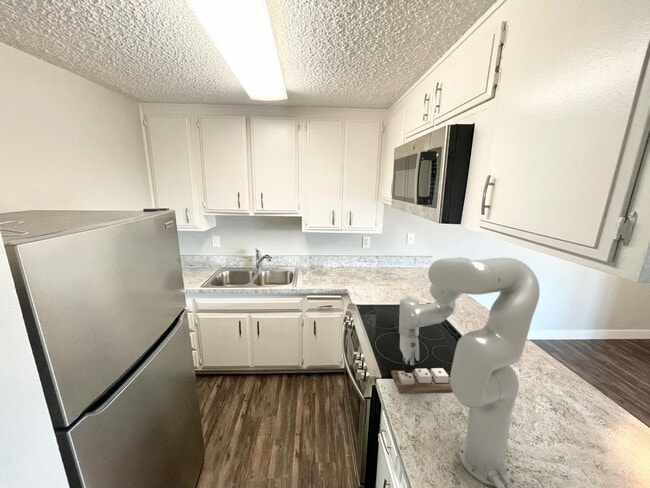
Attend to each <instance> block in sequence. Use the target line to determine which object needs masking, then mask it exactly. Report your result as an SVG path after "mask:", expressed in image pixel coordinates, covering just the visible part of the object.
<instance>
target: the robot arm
mask: <svg viewBox="0 0 650 488" xmlns="http://www.w3.org/2000/svg"><path fill="white" fill-rule="evenodd" d="M427 273H428V274H427V277H428V279H429V282H430V283H431V285H430V286H429V292H430V295H431V297H432V298H433V299H434V300H435V301H433V302H431V303H425V304H420V302H419V301H418V299H415V298H411V297H405V298H404V297H403V298H401V299H400V301H399V316H398V317H399V319H398V320H399V324H398V325H399V327H398V328H399V329H398V333H399V350H400V351H401V353H402V356H403V357H402V358H403V359H402V360H403V365H402V366H403V370H402V371H404V372H405V373H412V370H413V369H414V368H413V367H414V366H415V361H417V362H419V361H420V344H419V334H420V333H419V332H420V328H422V327H427V326H431V325H437V324H441V323H443V322H445V321H446V320H447V319H449V317H450V316H451V315H452V314H453V313H454V312H455V311H456V301H457V299H458V298H459V297H461V295H462V294H466V295H473V296H474V295H475V296H476V295H479V296H480V295H486V294H491V293H492V294H493V293H497V292H499V294H498V296H497V298H496V299H495V301H494V302H493V304H492V305H491V307H490V309H489V314H488V318H487V321H486V324H485V326H484V327H482V328H479V329H476V330H472V331H468V332H466V333H464V334H463V335H462V336H460V338H459V339H458V341H457V342H456V343H457V344H456V346H455V351H454V355H453V359H452V365H451V370H450V374H449V378H450V383H451V388H452V391H453V395H454V397H455V399H456V401H458V403H460V404H461V405H463V406H465V407H467V408H468V418H467V419H468V421H467V427H466V428H467V430H466V441H464V442H462V444H460V447H459V449H458V450H459V451H458V456H459V460H460V462H461V464H462V466H463V467H464V468H465V470H466V471H467V473H469V474H470V475H471V476H472V477H474V478H475V480H478V481H480V482H481V483H482V484H485V485H487V486H491V487H496V488H512V487H513V484H512V482H511V476H512V472H511V467H510V465H509V463H508V461H507V460H506V458H507V457H506V456H507V450H508V449H507V448H508V441H509V435H510V434H509V433H510V426H511V418H512V412H513V408H514V406H515V402H516V399H517V396H518V393H519V389H520V387H519V386H520V383H519V379H518V375H517V374H516V371H515V370H514V368H512V366H511V365H514V364H517V363H518V362H519V361H521V360H520V359H521V358H522V355H523V352H524V348H525V345H526V342H527V340H528V339H527V338H528V334H529V331H530V329H531V327H530V326H531V323H532V320H533V317H534V314H535V312H536V309H537V306H538V303H539V300H540V299H539V298H540V283H539V279H538V278H537V276H536V274H535V272H534V271H533V269H531V267H529V265H527V264H526V263H524V262H523V261H521V260H519V259H517V258H512V257H494V258H493V257H492V258H486V259H476V260H472V259H470V258H468V257H462V256H461V257H460V256H459V257H448V258H440V259H437V260H435V261H433V262H432V263H431V264H430V265H429V269H428V272H427Z"/></svg>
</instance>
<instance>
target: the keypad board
mask: <svg viewBox="0 0 650 488" xmlns="http://www.w3.org/2000/svg"><path fill="white" fill-rule="evenodd" d="M427 370H428V371H429V373H430V375H431V369H427ZM398 371H399V370H391V371H390V372H391V373H390V375H391V376H392V379H393V382H394V384H395V386H396V388H398V389H397V391H398V393H399V394H400V395H405V394H406V395H407V394H447V393H448V394H449V393H453V391H452V388H451V383H450V377H449V379H448V383H436V382H435V380H434V379H433V378H432V379H431V383H422V384H419V382H418V380H417V379H416V377H415V369H414V370H413V369H412V373H411V374H412V376H413V377H414V385H401V383H400V381H399V379H398ZM453 394H454V393H453Z"/></svg>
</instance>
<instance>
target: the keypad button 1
mask: <svg viewBox="0 0 650 488" xmlns="http://www.w3.org/2000/svg"><path fill="white" fill-rule="evenodd" d="M430 370H431V376H432V377H433V378H432V380H433V381H434V383H435V384H447V383H448V379H449V378H450V375H449V374H448V373H447V371H446V370H445V369H444V368H443V367H441V368H440V367H437V368H436V367H435V368H430Z"/></svg>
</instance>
